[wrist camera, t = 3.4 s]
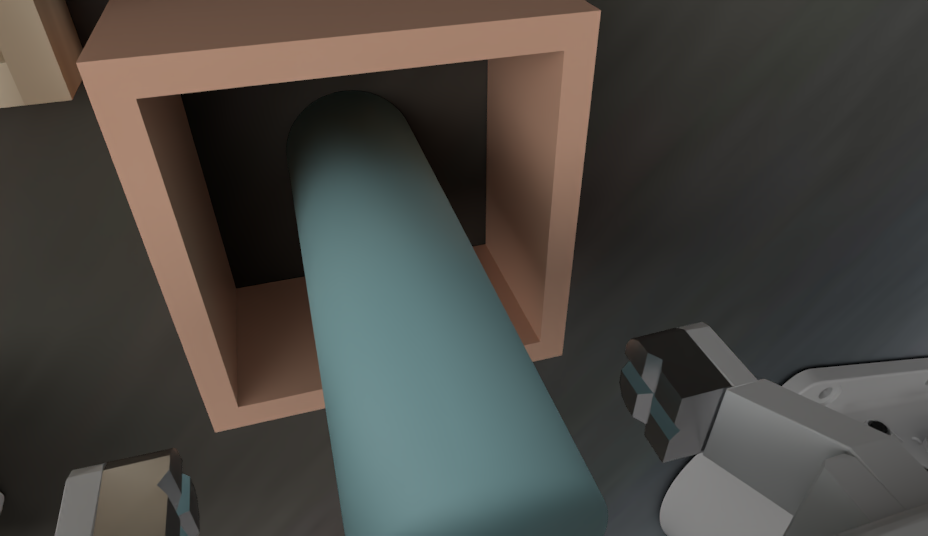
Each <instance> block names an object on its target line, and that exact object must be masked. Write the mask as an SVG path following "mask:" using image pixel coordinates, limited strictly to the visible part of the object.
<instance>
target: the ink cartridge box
mask: <svg viewBox="0 0 928 536" xmlns="http://www.w3.org/2000/svg"><path fill="white" fill-rule="evenodd" d="M3 503H4V495H3V494H2V493H1V492H0V514H1V511H2V507H3Z"/></svg>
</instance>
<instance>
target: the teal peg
mask: <svg viewBox="0 0 928 536" xmlns="http://www.w3.org/2000/svg"><path fill="white" fill-rule="evenodd" d="M286 155H287V163H288V169H289V175H290V182H291V188H292V195H293V201H294V208H295V214H296V221H297V227H298V234H299V240H300V247H301V253H302V260H303V266H304V273H305V279H306V286H307V292H308V298H309V305H310V311H311V318H312V324H313V331H314V337H315V344H316V350H317V357H318V363H319V370H320V376H321V383H322V389H323V396H324V402H325V408H326V415H327V421H328V428H329V434H330V441H331V447H332V454H333V460H334V467H335V473H336V480H337V486H338V493H339V499H340V506H341V512H342V519H343V525H344V531H345V536H604V533H605V530H606V527H607V522H608V510H607V506H606V503H605V500H604V498H603V496H602V494H601V493H600V491H599V489H598V487H597V485H596V483H595V481H594V479H593V477H592V475H591V473H590V471H589V470H588V468H587V466H586V464H585V462H584V460H583V458H582V456H581V454H580V452H579V450H578V448H577V447H576V445H575V443H574V441H573V439H572V437H571V435H570V433H569V431H568V429H567V427H566V425H565V424H564V422H563V420H562V418H561V416H560V414H559V412H558V410H557V408H556V406H555V404H554V402H553V401H552V399H551V397H550V395H549V393H548V391H547V389H546V387H545V385H544V383H543V381H542V379H541V377H540V376H539V374H538V372H537V370H536V368H535V366H534V364H533V362H532V360H531V358H530V356H529V354H528V353H527V351H526V349H525V347H524V345H523V343H522V341H521V339H520V337H519V335H518V333H517V331H516V330H515V328H514V326H513V324H512V322H511V320H510V318H509V316H508V314H507V312H506V310H505V308H504V307H503V305H502V303H501V301H500V299H499V297H498V295H497V293H496V291H495V289H494V287H493V285H492V283H491V282H490V280H489V278H488V276H487V274H486V272H485V270H484V268H483V266H482V264H481V262H480V260H479V259H478V257H477V255H476V253H475V251H474V249H473V247H472V245H471V243H470V241H469V239H468V237H467V236H466V234H465V232H464V230H463V228H462V226H461V224H460V222H459V220H458V218H457V216H456V214H455V213H454V211H453V209H452V207H451V205H450V203H449V201H448V199H447V197H446V195H445V193H444V191H443V190H442V188H441V186H440V184H439V182H438V180H437V178H436V176H435V174H434V172H433V170H432V168H431V166H430V165H429V163H428V161H427V159H426V157H425V155H424V153H423V151H422V149H421V147H420V145H419V143H418V142H417V140H416V138H415V136H414V134H413V132H412V130H411V128H410V126H409V124H408V122H407V121H406V119H405V117H404V116H403V115H402V113H401V112H400V111H399V110H398V109H397V108H396V107H395V106H394V105H393V104H392V103H390V102H389V101H387V100H386V99H384V98H382V97H380V96H378V95H375V94H372V93H368V92H363V91H353V90H352V91H341V92H335V93H332V94H329V95H326V96H324V97H322V98H320V99H318V100H316V101H315V102H313V103H311V104H310V105H309V106H308V107H307V108H305V109H304V110H303V111H302V112H301V114H300V115H299V116H298V117H297V119H296V120H295V122H294V123H293V125H292V127H291V129H290V132H289V135H288V139H287V145H286Z"/></svg>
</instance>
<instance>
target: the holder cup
mask: <svg viewBox="0 0 928 536" xmlns="http://www.w3.org/2000/svg"><path fill="white" fill-rule="evenodd" d="M600 15H601V10H600V9H598V8H596V7H595V6H593V5H591V4H590V3H588V2H587V1H585V0H109V2H108V3H107V5H106V7H105V9H104V11H103V13H102V15H101V17H100V18H99V20H98V22H97V24H96V26H95V28H94V30H93V32H92V33H91V35H90V37H89V39H88V41H87V43H86V45H85V47H84V48H83V50H82V52H81V54H80V56H79V58H78V60H77V62H76V64H77V67H78V70H79V72H80V75H81V78H82V80H83V83H84V86H85V88H86V91H87V94H88V96H89V99H90V102H91V104H92V107H93V110H94V112H95V115H96V118H97V120H98V123H99V126H100V128H101V131H102V133H103V136H104V139H105V141H106V144H107V147H108V149H109V152H110V155H111V157H112V160H113V163H114V165H115V168H116V171H117V173H118V176H119V179H120V181H121V184H122V187H123V189H124V192H125V195H126V197H127V200H128V203H129V205H130V208H131V210H132V213H133V216H134V218H135V221H136V224H137V226H138V229H139V232H140V234H141V237H142V240H143V242H144V245H145V248H146V250H147V253H148V256H149V258H150V261H151V264H152V266H153V269H154V272H155V274H156V277H157V279H158V282H159V285H160V287H161V290H162V293H163V295H164V298H165V301H166V303H167V306H168V309H169V311H170V314H171V317H172V319H173V322H174V325H175V327H176V330H177V333H178V335H179V338H180V341H181V343H182V346H183V349H184V351H185V354H186V356H187V359H188V362H189V364H190V367H191V370H192V372H193V375H194V378H195V380H196V383H197V386H198V388H199V391H200V394H201V396H202V399H203V402H204V404H205V407H206V410H207V412H208V415H209V418H210V420H211V423H212V425H213V428H214V431H215V433H216V432H220V431H225V430H229V429H234V428H238V427H243V426H247V425H252V424H256V423H260V422H265V421H269V420H274V419H278V418H283V417H287V416H292V415H296V414H301V413H305V412H310V411H314V410H319V409H323V408H325V402H324V396H323V389H322V383H321V376H320V370H319V363H318V357H317V350H316V344H315V337H314V331H313V324H312V318H311V311H310V305H309V298H308V292H307V286H306V279H305V276H304V277H298V278H293V279H287V280H281V281H276V282H270V283H264V284H259V285H253V286H248V287H242V288H236V287H235V283H234V280H233V276H232V273H231V269H230V266H229V262H228V259H227V255H226V252H225V248H224V245H223V241H222V238H221V234H220V231H219V227H218V224H217V220H216V217H215V214H214V210H213V207H212V203H211V200H210V196H209V193H208V189H207V186H206V182H205V179H204V175H203V172H202V168H201V165H200V161H199V158H198V154H197V151H196V147H195V144H194V140H193V137H192V133H191V130H190V126H189V123H188V119H187V116H186V112H185V109H184V105H183V102H182V98H181V95H180V94H184V93H193V92H202V91H211V90H220V89H229V88H237V87H246V86H255V85H264V84H273V83H282V82H291V81H299V80H308V79H317V78H326V77H335V76H344V75H352V74H361V73H370V72H379V71H388V70H397V69H406V68H414V67H423V66H432V65H441V64H450V63H459V62H468V61H476V60H485V59H488V82H487V168H486V244H483V245H478V246H472V247H473V249H474V251H475V253H476V255H477V257H478V259H479V260H480V262H481V264H482V266H483V268H484V270H485V272H486V274H487V276H488V278H489V280H490V282H491V283H492V285H493V287H494V289H495V291H496V293H497V295H498V297H499V299H500V301H501V303H502V305H503V307H504V308H505V310H506V312H507V314H508V316H509V318H510V320H511V322H512V324H513V326H514V328H515V330H516V331H517V333H518V335H519V337H520V339H521V341H522V343H523V345H524V347H525V349H526V351H527V353H528V354H529V356H530V358H531V360H532V362H534V361H538V360H543V359H547V358H552V357H556V356H561V355H562V352H563V343H564V334H565V325H566V316H567V307H568V298H569V290H570V281H571V272H572V263H573V254H574V245H575V236H576V228H577V219H578V210H579V201H580V192H581V183H582V174H583V166H584V157H585V148H586V139H587V130H588V121H589V113H590V104H591V95H592V86H593V77H594V68H595V59H596V51H597V42H598V33H599V24H600Z"/></svg>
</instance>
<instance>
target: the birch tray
mask: <svg viewBox="0 0 928 536" xmlns="http://www.w3.org/2000/svg"><path fill="white" fill-rule="evenodd" d="M82 50H83V48H82V45H81V42H80V39H79V37H78V34H77V31H76V29H75V26H74V23H73V20H72V18H71V15H70V12H69V9H68V7H67V4H66V1H65V0H0V108H5V107H14V106H23V105H32V104H41V103H50V102H59V101H68V100H73V97H74V95H75V93H76V91H77V89H78V87H79V85H80V83H81V81H82V78H81V75H80V72H79V70H78V67H77V64H76V62H77V60H78V58H79V56H80V54H81V52H82Z"/></svg>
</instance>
